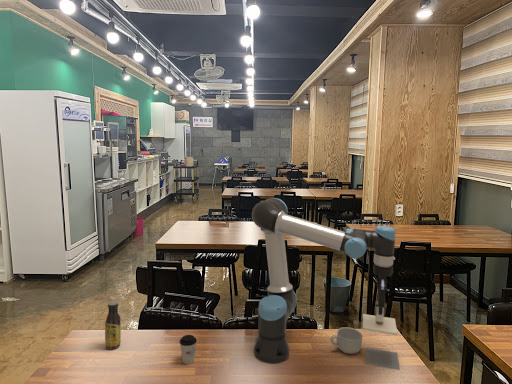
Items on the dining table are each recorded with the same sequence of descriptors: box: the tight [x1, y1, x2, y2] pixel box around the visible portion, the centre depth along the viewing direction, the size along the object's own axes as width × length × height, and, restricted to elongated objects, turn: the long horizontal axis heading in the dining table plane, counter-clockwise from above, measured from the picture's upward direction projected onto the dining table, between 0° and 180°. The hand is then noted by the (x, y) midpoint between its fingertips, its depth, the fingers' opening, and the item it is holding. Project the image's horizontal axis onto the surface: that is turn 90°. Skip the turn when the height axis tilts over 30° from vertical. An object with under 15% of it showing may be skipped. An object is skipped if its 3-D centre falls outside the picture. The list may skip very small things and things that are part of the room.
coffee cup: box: [179, 334, 198, 365], centre depth 149 cm, size 7×7×10 cm
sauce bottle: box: [104, 300, 122, 350], centre depth 159 cm, size 7×6×20 cm
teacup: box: [330, 326, 363, 355], centre depth 159 cm, size 14×11×8 cm
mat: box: [365, 347, 401, 371], centre depth 153 cm, size 13×13×1 cm
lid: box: [362, 309, 398, 336], centre depth 152 cm, size 13×13×8 cm
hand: (379, 319), depth 152 cm, fingers closed on lid, 3 cm apart
